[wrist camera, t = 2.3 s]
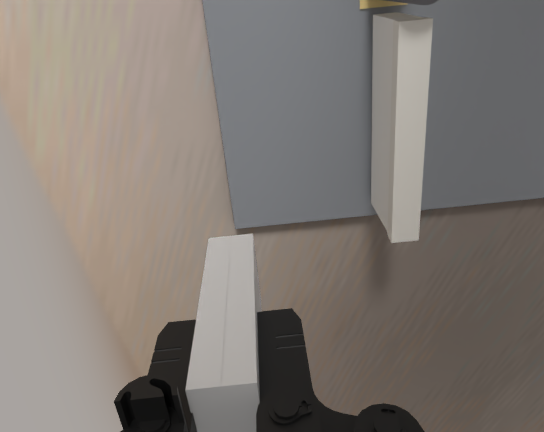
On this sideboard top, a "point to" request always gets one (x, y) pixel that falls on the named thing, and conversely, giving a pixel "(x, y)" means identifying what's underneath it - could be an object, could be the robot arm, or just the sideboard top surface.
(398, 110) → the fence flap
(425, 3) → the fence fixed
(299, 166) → the card
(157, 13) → the sideboard top surface
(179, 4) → the sideboard top surface
